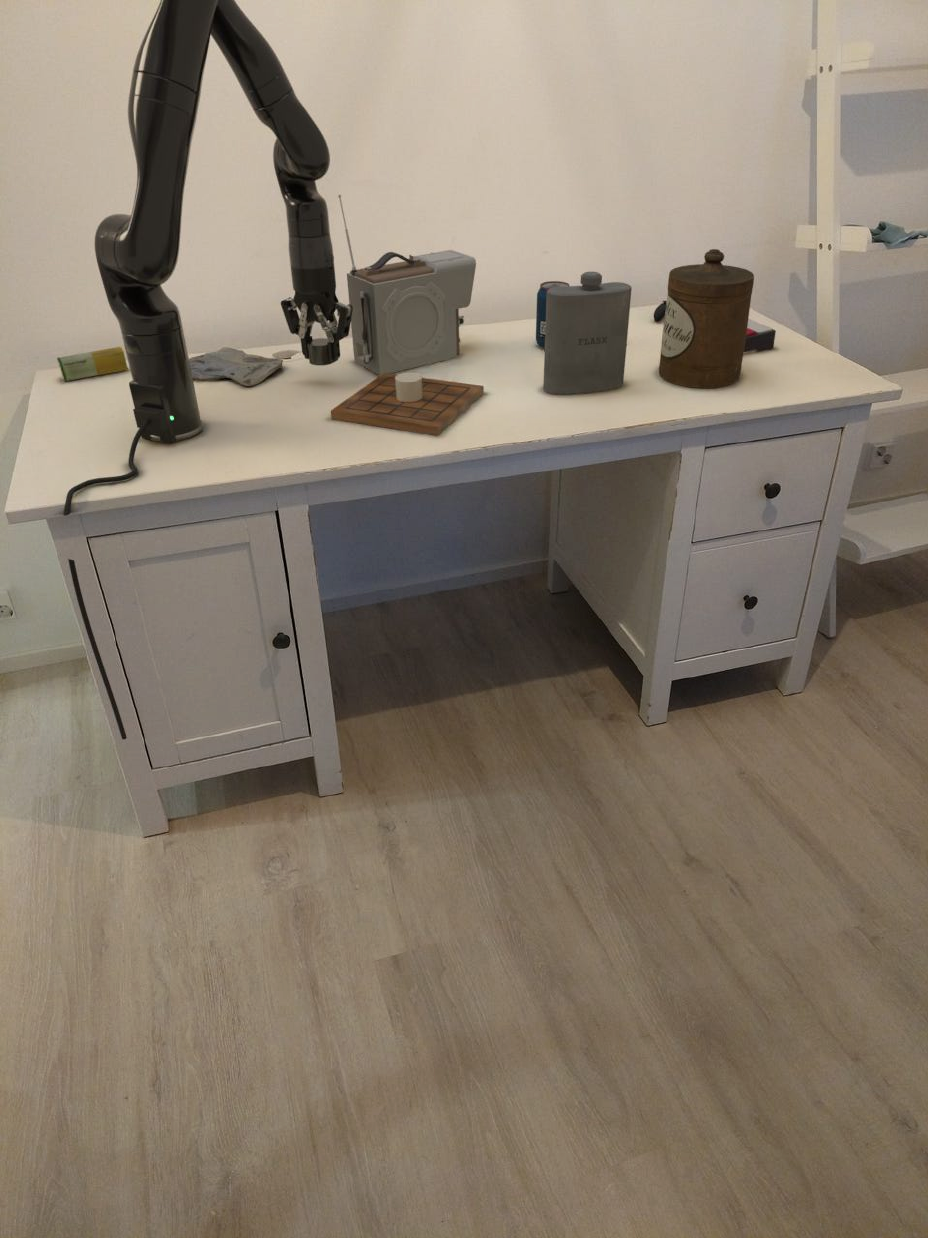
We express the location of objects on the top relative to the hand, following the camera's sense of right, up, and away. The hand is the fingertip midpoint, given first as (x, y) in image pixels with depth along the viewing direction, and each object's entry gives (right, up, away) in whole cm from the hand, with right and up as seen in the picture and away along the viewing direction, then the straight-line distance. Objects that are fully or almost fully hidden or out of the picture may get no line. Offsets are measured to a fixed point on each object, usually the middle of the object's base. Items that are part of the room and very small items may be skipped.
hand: (321, 358), depth 163 cm
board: (+17, -10, -7) cm, 21 cm away
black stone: (0, 0, 0) cm, 1 cm away
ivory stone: (+17, -9, -8) cm, 21 cm away
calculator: (+79, +7, +16) cm, 81 cm away
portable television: (+16, +5, +14) cm, 22 cm away
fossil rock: (-19, -1, +8) cm, 21 cm away
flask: (+48, -6, -2) cm, 48 cm away
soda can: (+44, +8, +18) cm, 49 cm away
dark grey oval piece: (+72, +18, +32) cm, 81 cm away
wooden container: (+70, -2, +3) cm, 70 cm away
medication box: (-45, -1, +9) cm, 46 cm away
